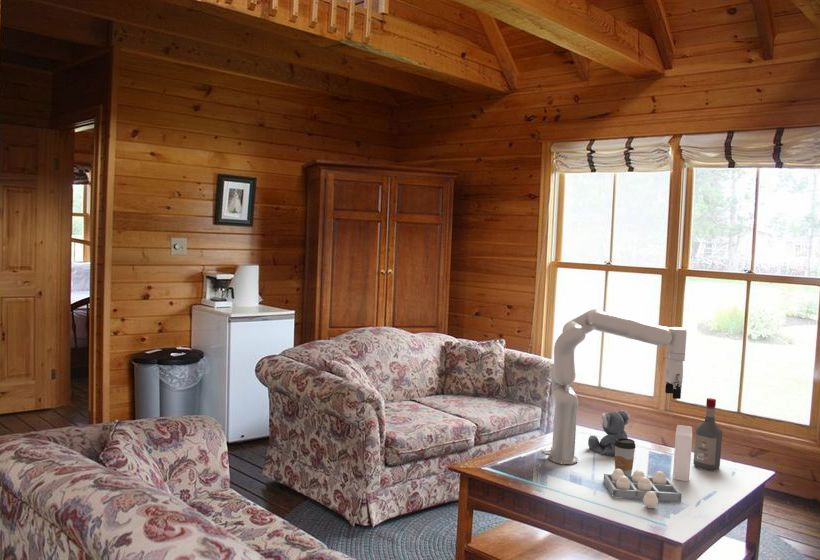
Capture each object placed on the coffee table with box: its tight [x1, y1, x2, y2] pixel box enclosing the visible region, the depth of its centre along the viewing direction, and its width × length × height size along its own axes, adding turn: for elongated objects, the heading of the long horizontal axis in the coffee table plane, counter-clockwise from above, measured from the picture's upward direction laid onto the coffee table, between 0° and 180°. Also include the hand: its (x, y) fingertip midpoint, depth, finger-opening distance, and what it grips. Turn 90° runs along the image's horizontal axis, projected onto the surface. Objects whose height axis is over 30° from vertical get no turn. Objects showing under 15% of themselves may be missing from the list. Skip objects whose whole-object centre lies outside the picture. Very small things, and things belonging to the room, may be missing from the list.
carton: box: [603, 468, 683, 502], centre depth 269 cm, size 25×17×7 cm
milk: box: [672, 424, 693, 482], centre depth 285 cm, size 6×6×22 cm
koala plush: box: [587, 409, 631, 457], centre depth 315 cm, size 17×18×20 cm
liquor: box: [693, 397, 723, 472], centre depth 300 cm, size 9×9×30 cm
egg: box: [642, 491, 659, 509], centre depth 253 cm, size 5×5×6 cm
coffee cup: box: [614, 438, 636, 476], centre depth 285 cm, size 8×8×15 cm
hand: (672, 395), depth 297 cm, fingers open, 9 cm apart
